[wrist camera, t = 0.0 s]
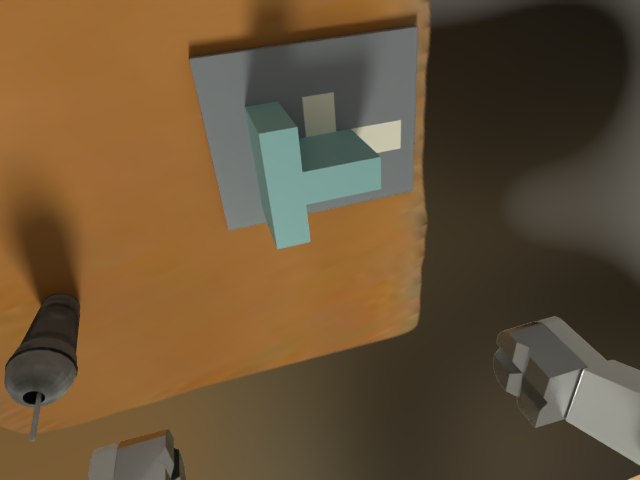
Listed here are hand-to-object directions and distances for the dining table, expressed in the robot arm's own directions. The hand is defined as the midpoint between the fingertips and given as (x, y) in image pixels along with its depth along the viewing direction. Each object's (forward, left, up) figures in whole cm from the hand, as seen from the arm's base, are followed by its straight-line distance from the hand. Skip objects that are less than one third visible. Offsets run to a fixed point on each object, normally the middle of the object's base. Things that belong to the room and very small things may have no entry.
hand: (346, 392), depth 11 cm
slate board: (+11, +11, -48) cm, 51 cm away
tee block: (+13, +10, -47) cm, 50 cm away
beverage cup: (+29, -26, -48) cm, 62 cm away
